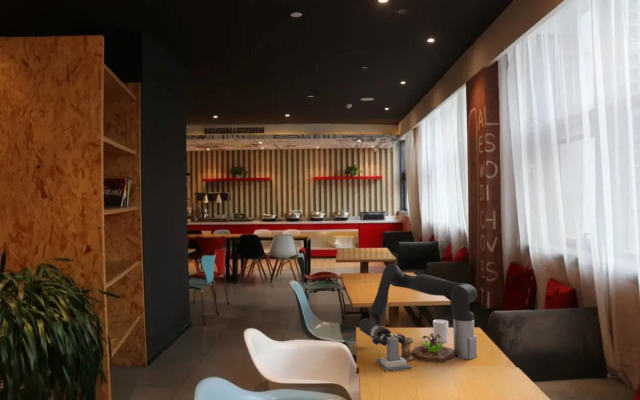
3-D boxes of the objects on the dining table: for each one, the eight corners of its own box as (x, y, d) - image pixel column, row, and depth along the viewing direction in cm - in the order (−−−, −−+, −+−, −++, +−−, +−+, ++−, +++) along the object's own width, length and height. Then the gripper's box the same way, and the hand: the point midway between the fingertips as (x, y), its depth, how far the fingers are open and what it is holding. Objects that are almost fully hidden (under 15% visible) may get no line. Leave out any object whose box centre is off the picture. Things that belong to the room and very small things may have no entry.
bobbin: (416, 359, 219) (415, 339, 219) (407, 362, 214) (407, 342, 214) (398, 354, 226) (398, 335, 226) (390, 357, 221) (390, 338, 221)
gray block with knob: (387, 362, 212) (386, 333, 212) (395, 361, 213) (394, 333, 213) (390, 365, 208) (389, 336, 208) (399, 364, 209) (398, 335, 209)
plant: (404, 358, 221) (404, 334, 221) (421, 347, 237) (420, 325, 237) (446, 365, 210) (445, 340, 210) (460, 354, 226) (460, 330, 226)
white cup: (430, 339, 250) (429, 320, 251) (443, 337, 253) (443, 319, 253) (438, 343, 243) (438, 323, 243) (451, 341, 245) (451, 322, 245)
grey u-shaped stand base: (375, 361, 216) (375, 355, 216) (398, 359, 219) (398, 352, 219) (387, 371, 202) (387, 364, 202) (411, 369, 205) (411, 362, 205)
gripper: (366, 327, 223) (378, 335, 207) (394, 325, 226) (409, 332, 210) (367, 344, 222) (379, 352, 206) (395, 341, 226) (409, 349, 210)
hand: (394, 342), depth 208 cm, fingers open, 8 cm apart
